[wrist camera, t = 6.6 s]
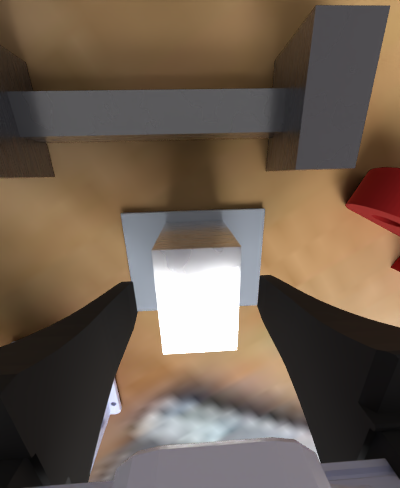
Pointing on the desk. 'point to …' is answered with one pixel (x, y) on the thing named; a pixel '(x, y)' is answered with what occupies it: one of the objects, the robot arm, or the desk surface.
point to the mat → (151, 223)
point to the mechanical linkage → (379, 200)
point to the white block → (197, 286)
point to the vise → (215, 103)
